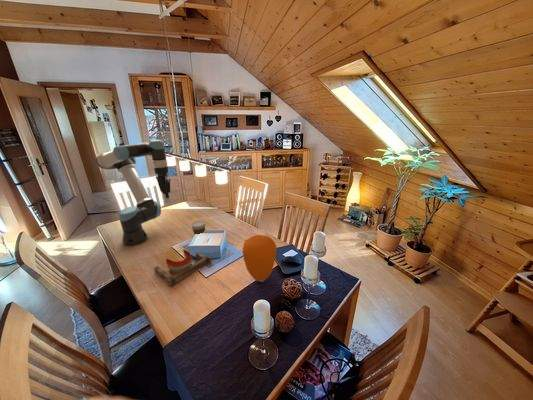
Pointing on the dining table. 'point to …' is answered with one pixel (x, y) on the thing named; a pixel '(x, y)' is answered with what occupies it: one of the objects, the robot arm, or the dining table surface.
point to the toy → (179, 263)
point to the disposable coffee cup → (198, 227)
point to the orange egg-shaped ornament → (259, 256)
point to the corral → (185, 273)
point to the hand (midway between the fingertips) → (167, 202)
